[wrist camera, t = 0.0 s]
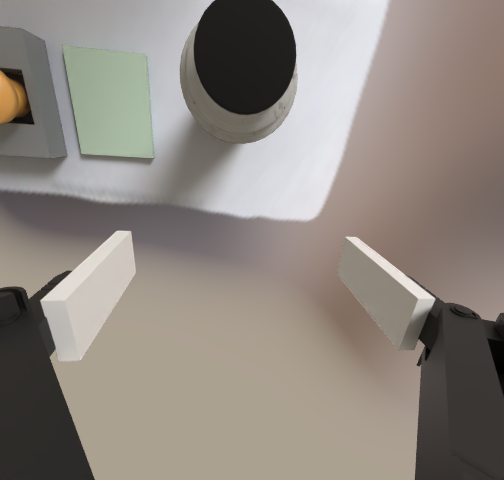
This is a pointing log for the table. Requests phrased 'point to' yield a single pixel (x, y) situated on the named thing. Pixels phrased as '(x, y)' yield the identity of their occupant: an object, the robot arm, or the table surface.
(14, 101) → the orange piece
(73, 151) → the table surface
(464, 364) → the robot arm
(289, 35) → the thermos bottle
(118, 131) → the green pad
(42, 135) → the block
